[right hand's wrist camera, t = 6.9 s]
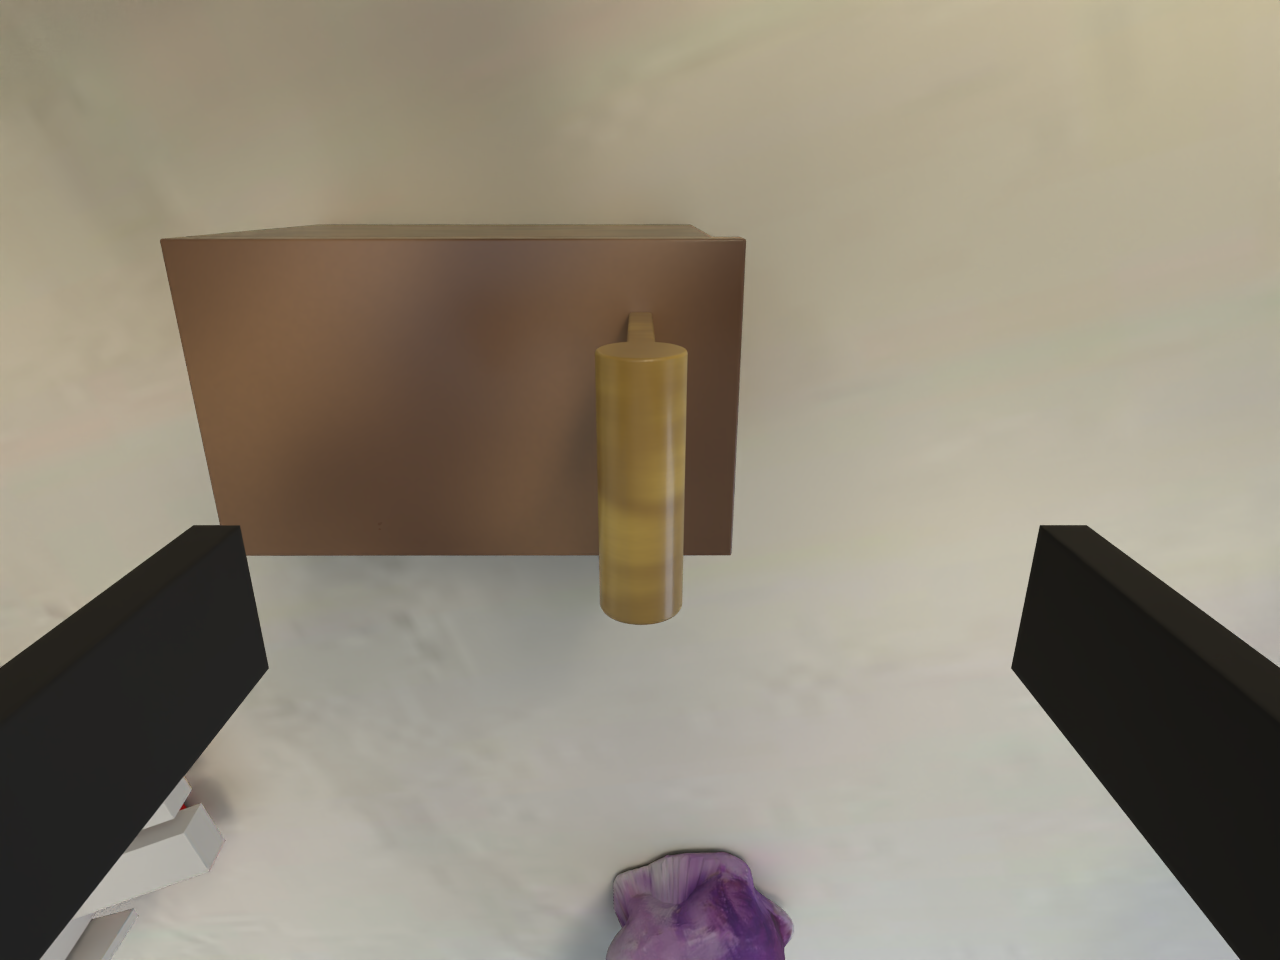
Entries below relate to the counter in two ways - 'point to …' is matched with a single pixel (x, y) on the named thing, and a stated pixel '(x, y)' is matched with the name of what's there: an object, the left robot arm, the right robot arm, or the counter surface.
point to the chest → (473, 231)
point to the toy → (142, 876)
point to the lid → (471, 397)
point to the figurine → (696, 912)
